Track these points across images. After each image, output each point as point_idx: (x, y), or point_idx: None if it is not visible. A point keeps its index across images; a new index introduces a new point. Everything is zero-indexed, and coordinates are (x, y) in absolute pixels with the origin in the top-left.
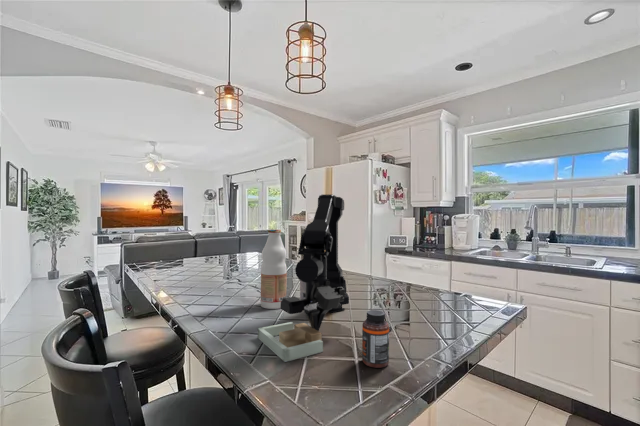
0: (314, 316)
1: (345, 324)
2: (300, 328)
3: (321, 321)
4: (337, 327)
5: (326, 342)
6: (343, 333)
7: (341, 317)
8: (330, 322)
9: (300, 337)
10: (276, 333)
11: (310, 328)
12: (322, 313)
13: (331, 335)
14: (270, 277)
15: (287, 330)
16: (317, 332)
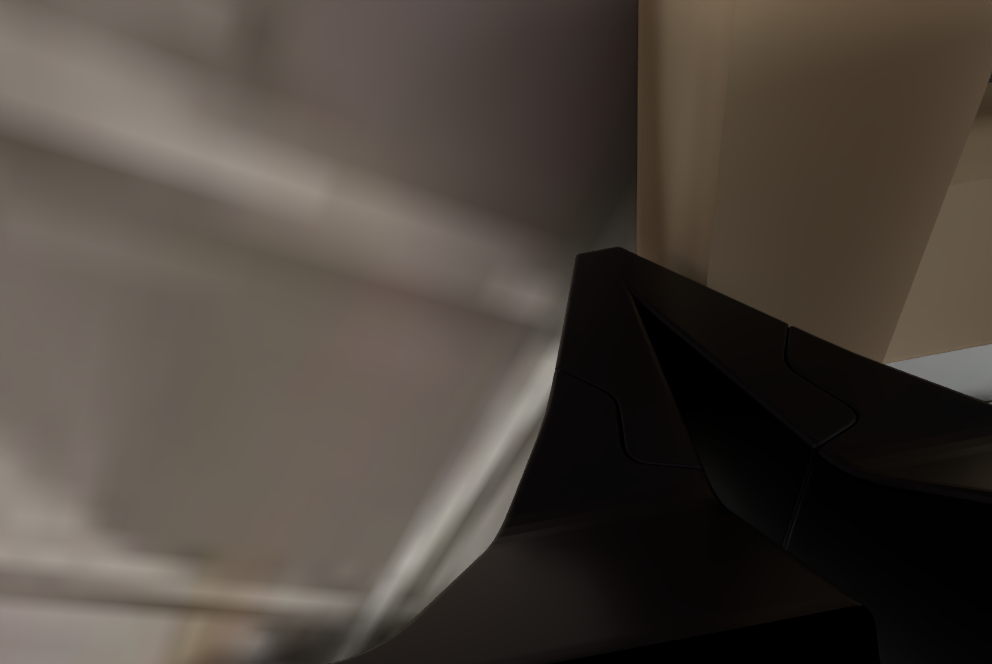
0: (946, 428)
1: (20, 509)
2: (887, 346)
3: (574, 364)
4: (153, 459)
5: (500, 9)
6: (88, 270)
7: (57, 642)
8: (216, 571)
9: (982, 134)
10: None
11: (760, 296)
12: (671, 518)
13: (312, 257)
14: None
15: None
16: (804, 23)
